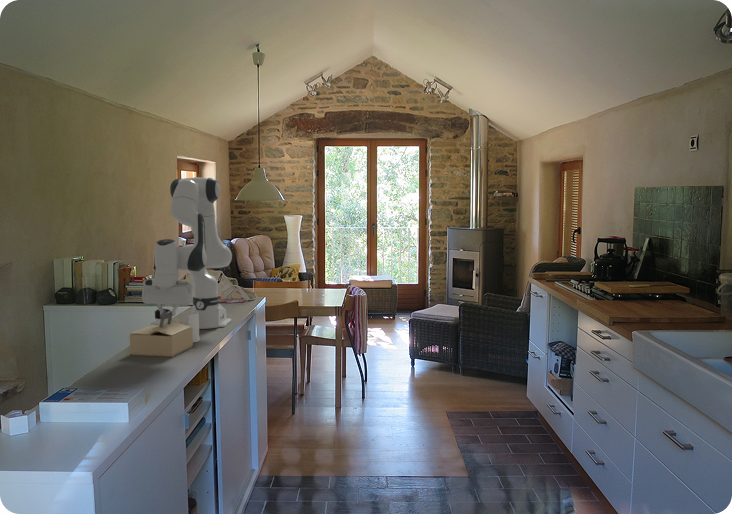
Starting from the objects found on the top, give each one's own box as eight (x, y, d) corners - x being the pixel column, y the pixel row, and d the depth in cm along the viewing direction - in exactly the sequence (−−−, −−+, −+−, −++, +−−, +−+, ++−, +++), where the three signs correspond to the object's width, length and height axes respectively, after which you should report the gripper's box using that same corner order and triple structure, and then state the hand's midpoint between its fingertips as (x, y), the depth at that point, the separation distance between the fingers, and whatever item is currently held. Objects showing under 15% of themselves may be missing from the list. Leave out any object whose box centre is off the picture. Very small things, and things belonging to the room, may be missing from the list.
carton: (153, 344, 241) (152, 324, 240) (192, 346, 237) (192, 326, 236) (130, 354, 225) (129, 332, 224) (172, 357, 221) (172, 335, 221)
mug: (198, 344, 241) (197, 316, 240) (176, 345, 239) (175, 316, 238) (200, 338, 253) (200, 310, 251) (180, 338, 251) (179, 311, 250)
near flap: (172, 321, 237) (174, 307, 237) (191, 327, 236) (194, 313, 235) (151, 329, 223) (154, 314, 222) (171, 335, 221) (174, 321, 220)
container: (167, 341, 246) (166, 311, 245) (150, 340, 247) (149, 310, 246) (176, 337, 253) (175, 308, 252) (160, 336, 255) (159, 307, 254)
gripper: (195, 280, 229) (195, 315, 230) (148, 279, 233) (149, 312, 234) (187, 282, 223) (188, 318, 224) (139, 281, 227) (140, 315, 228)
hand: (167, 315), depth 229 cm, fingers open, 3 cm apart
